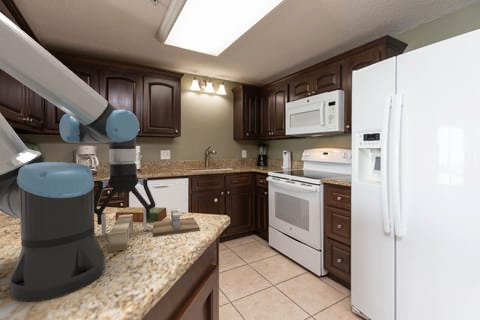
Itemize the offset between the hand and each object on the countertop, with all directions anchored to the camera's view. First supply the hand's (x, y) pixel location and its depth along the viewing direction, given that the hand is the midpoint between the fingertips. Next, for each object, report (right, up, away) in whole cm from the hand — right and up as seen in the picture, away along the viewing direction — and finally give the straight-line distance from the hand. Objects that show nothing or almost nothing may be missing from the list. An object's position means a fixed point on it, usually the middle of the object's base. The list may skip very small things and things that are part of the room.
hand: (125, 231), depth 73 cm
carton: (-1, 0, +14) cm, 14 cm away
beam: (+2, -1, -5) cm, 5 cm away
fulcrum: (+15, 0, +5) cm, 15 cm away
